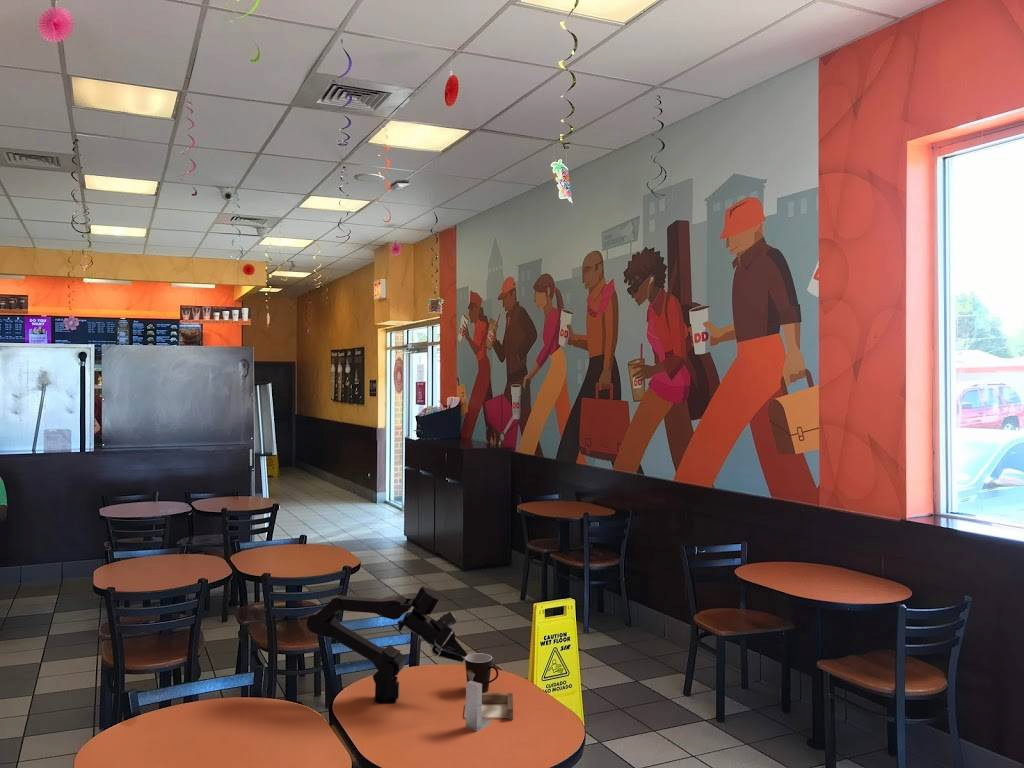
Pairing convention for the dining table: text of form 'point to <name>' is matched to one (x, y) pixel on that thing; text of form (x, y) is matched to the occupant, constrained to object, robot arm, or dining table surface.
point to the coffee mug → (479, 669)
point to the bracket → (474, 707)
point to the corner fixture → (496, 706)
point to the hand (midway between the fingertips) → (464, 658)
